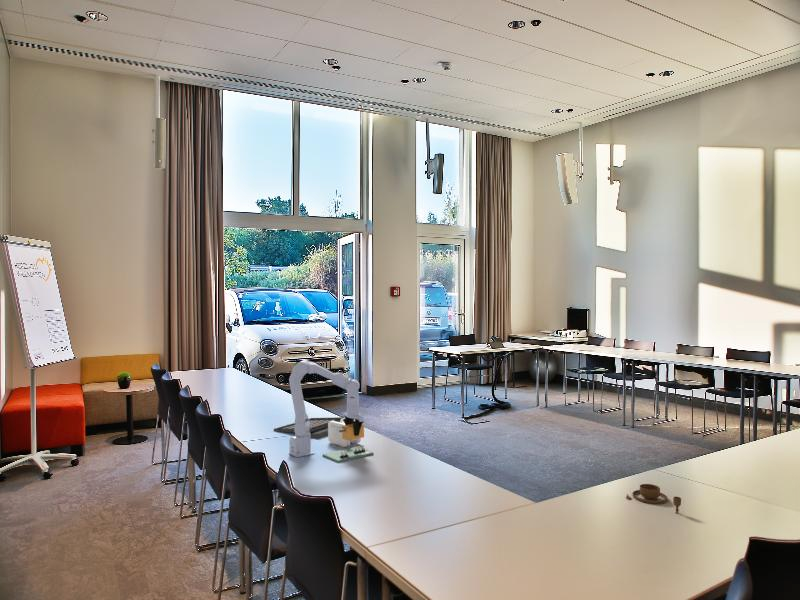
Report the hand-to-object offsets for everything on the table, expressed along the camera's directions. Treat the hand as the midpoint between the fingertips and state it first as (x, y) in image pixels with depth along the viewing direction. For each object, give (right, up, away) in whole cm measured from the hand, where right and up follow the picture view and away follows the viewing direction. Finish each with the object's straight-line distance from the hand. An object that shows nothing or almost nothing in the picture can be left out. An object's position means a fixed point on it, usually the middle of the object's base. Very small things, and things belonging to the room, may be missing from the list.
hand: (353, 434), depth 266 cm
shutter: (-26, -10, +51) cm, 58 cm away
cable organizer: (-6, -10, +19) cm, 22 cm away
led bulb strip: (+3, -10, +1) cm, 10 cm away
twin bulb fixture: (-4, -10, -7) cm, 13 cm away
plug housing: (-1, -2, -1) cm, 2 cm away
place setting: (+114, -11, -60) cm, 129 cm away
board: (-2, -10, -1) cm, 10 cm away
